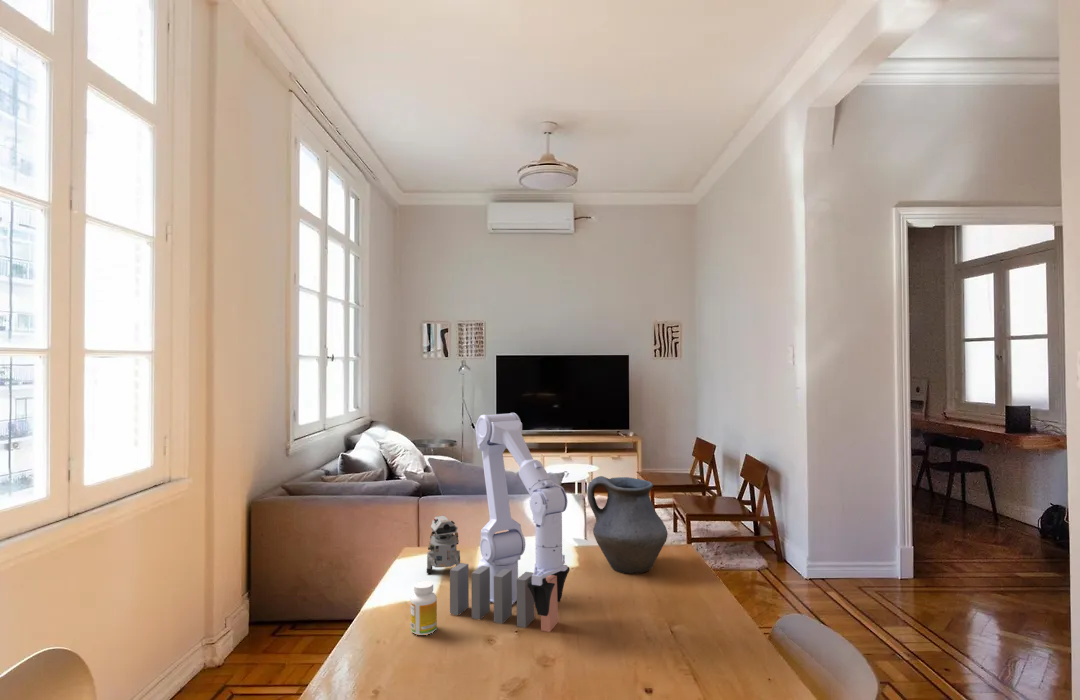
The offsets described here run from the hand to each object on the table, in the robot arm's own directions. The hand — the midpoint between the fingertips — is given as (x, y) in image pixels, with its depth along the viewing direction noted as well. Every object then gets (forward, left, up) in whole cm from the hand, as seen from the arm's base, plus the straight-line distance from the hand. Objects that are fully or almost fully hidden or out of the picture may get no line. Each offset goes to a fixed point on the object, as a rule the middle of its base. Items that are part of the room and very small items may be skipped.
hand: (549, 607), depth 127 cm
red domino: (0, 0, -4) cm, 4 cm away
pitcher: (+7, +42, -4) cm, 42 cm away
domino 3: (-11, 0, -4) cm, 12 cm away
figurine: (-38, +20, -4) cm, 43 cm away
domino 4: (-6, 0, -4) cm, 7 cm away
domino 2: (-16, 0, -4) cm, 17 cm away
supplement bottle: (-24, -12, -4) cm, 27 cm away
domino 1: (-22, 0, -4) cm, 22 cm away
